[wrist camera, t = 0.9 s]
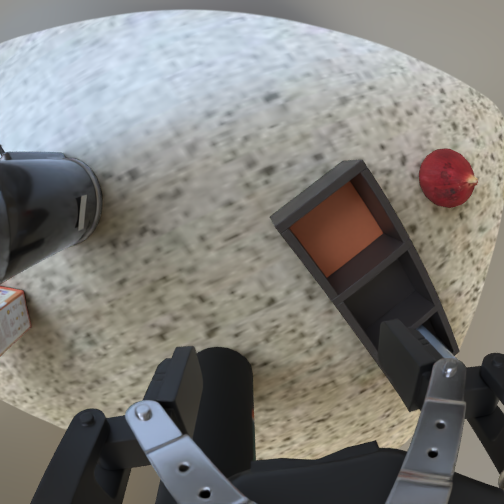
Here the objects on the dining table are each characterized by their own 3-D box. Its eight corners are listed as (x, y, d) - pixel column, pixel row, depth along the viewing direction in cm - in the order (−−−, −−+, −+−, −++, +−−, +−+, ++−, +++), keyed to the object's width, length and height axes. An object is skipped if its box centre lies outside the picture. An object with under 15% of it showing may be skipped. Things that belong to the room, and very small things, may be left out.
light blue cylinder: (380, 335, 32) (413, 380, 23) (413, 308, 31) (453, 347, 22) (395, 359, 33) (426, 404, 24) (426, 334, 32) (463, 374, 24)
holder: (269, 216, 29) (274, 226, 24) (343, 160, 27) (362, 159, 22) (386, 374, 34) (401, 398, 29) (440, 332, 33) (459, 351, 28)
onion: (420, 212, 29) (465, 227, 21) (396, 166, 28) (441, 168, 20) (453, 185, 28) (500, 192, 20) (432, 140, 27) (478, 137, 19)
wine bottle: (238, 339, 32) (233, 642, 3) (261, 387, 34) (279, 635, 5) (177, 356, 33) (106, 616, 4) (204, 401, 35) (176, 629, 6)
